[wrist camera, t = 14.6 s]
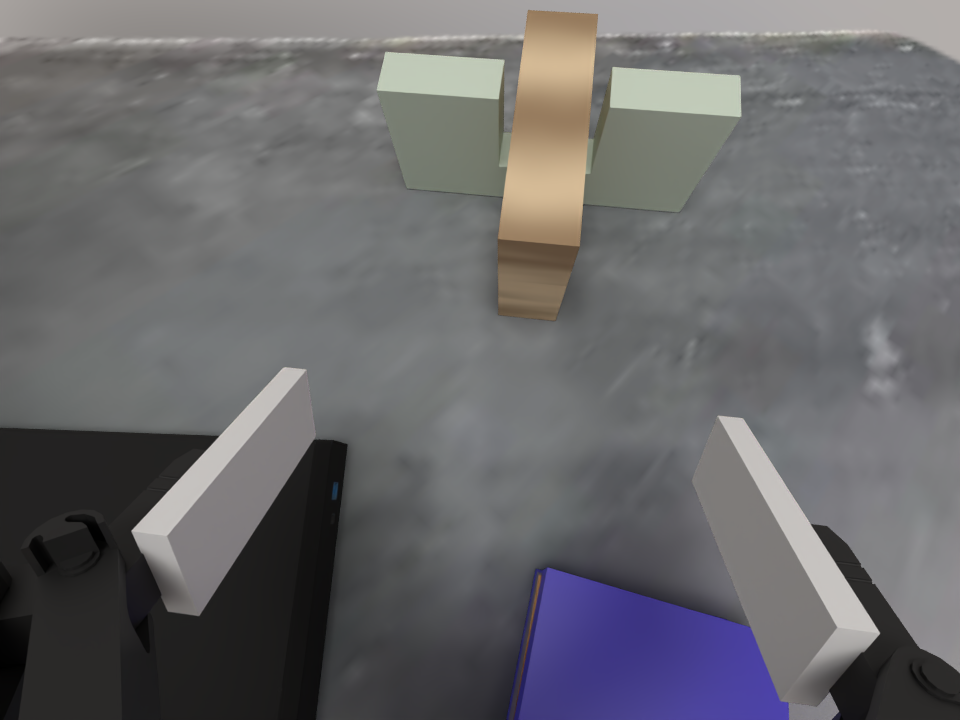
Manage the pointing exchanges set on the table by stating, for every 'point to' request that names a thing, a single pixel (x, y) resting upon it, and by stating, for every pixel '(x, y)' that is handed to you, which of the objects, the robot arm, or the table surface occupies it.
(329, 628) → the table surface
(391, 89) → the green u-shaped block
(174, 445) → the external hard drive
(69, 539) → the robot arm
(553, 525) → the table surface
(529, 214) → the tan wooden block
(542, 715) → the blue foot pedal
